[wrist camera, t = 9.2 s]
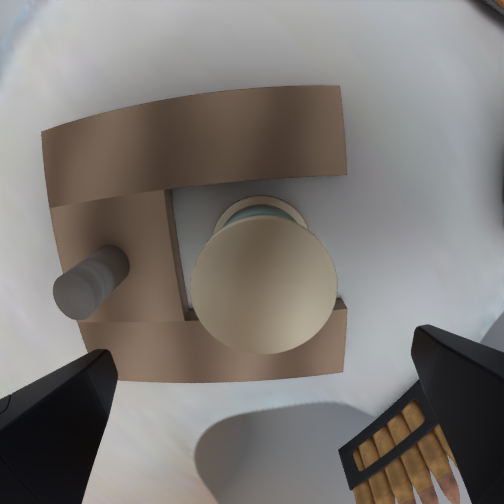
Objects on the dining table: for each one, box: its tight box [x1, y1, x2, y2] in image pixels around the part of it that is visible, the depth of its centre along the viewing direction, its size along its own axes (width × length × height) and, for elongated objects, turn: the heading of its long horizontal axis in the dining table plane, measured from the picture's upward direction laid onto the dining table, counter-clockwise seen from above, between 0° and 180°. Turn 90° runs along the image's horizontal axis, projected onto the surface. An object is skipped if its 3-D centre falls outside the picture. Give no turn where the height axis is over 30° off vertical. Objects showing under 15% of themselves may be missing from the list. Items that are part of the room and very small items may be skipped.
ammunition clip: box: [338, 379, 460, 504], centre depth 18 cm, size 11×2×12 cm, turn 145°
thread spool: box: [190, 196, 337, 354], centre depth 16 cm, size 6×6×7 cm
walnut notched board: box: [41, 86, 347, 383], centre depth 16 cm, size 18×18×6 cm
